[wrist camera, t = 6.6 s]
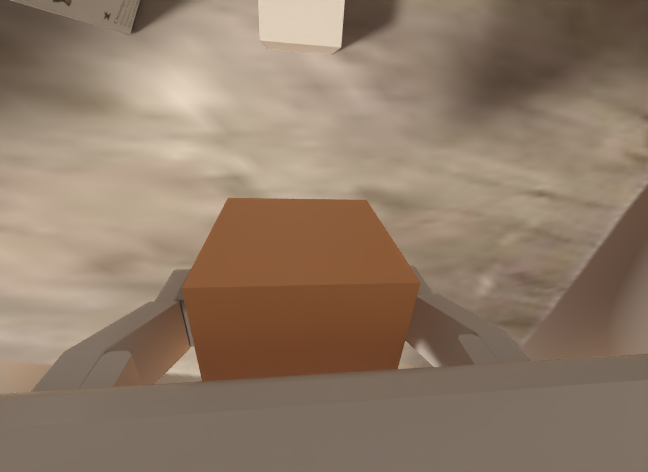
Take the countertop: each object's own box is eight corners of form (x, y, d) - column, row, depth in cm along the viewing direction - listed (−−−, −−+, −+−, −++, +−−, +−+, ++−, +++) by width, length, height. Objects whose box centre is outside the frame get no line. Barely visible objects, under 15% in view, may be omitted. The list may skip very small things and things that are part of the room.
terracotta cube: (227, 198, 10) (181, 287, 6) (366, 200, 11) (420, 282, 6) (239, 306, 12) (213, 429, 8) (352, 303, 13) (385, 415, 9)
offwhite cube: (264, -39, 19) (255, -75, 15) (337, -31, 20) (349, -62, 16) (266, 48, 22) (259, 40, 17) (331, 54, 22) (341, 47, 18)
